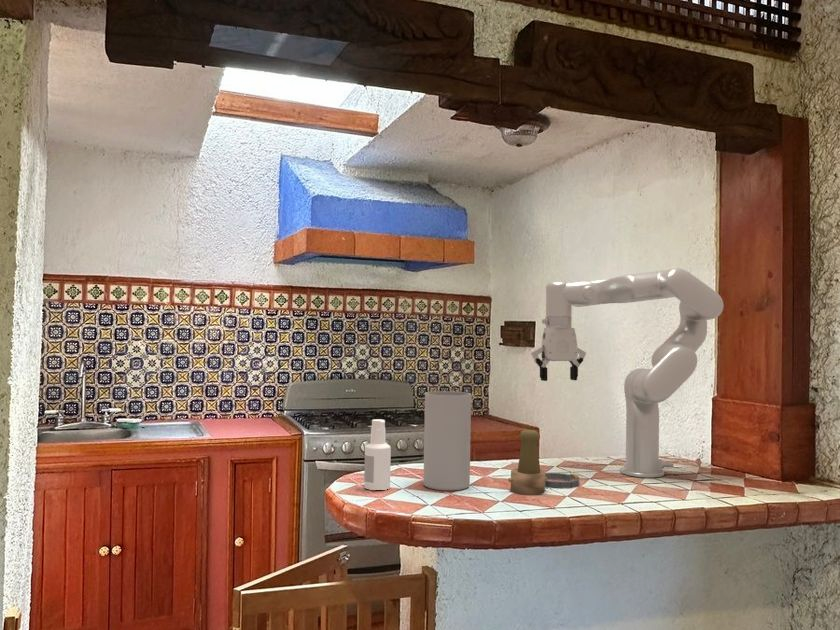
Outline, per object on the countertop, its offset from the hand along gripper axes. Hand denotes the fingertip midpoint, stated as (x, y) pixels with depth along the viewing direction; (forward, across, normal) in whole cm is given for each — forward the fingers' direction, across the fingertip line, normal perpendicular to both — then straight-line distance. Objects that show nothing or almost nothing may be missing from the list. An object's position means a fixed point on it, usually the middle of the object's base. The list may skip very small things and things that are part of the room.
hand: (558, 380), depth 206 cm
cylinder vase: (+27, -38, -10) cm, 48 cm away
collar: (+28, -7, -12) cm, 31 cm away
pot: (+28, -18, -19) cm, 38 cm away
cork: (+23, -18, -19) cm, 35 cm away
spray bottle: (+27, -57, -10) cm, 64 cm away
